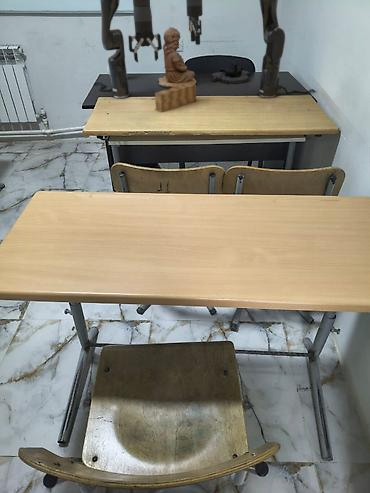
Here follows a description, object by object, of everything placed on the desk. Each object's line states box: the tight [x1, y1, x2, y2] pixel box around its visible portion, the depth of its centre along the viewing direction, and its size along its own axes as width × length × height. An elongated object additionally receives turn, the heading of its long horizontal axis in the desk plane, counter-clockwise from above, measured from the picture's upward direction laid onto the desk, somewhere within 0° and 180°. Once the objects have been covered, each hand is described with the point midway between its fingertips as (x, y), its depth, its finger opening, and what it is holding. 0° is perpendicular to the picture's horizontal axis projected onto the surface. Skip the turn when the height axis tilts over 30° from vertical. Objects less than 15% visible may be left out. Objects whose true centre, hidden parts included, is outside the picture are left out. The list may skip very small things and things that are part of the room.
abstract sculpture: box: [211, 60, 250, 85], centre depth 224 cm, size 25×9×20 cm
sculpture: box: [157, 27, 198, 89], centre depth 214 cm, size 27×24×30 cm
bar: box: [154, 83, 197, 113], centre depth 190 cm, size 24×5×8 cm, turn 131°
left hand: (146, 61), depth 161 cm, fingers open, 8 cm apart
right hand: (195, 42), depth 179 cm, fingers open, 8 cm apart
